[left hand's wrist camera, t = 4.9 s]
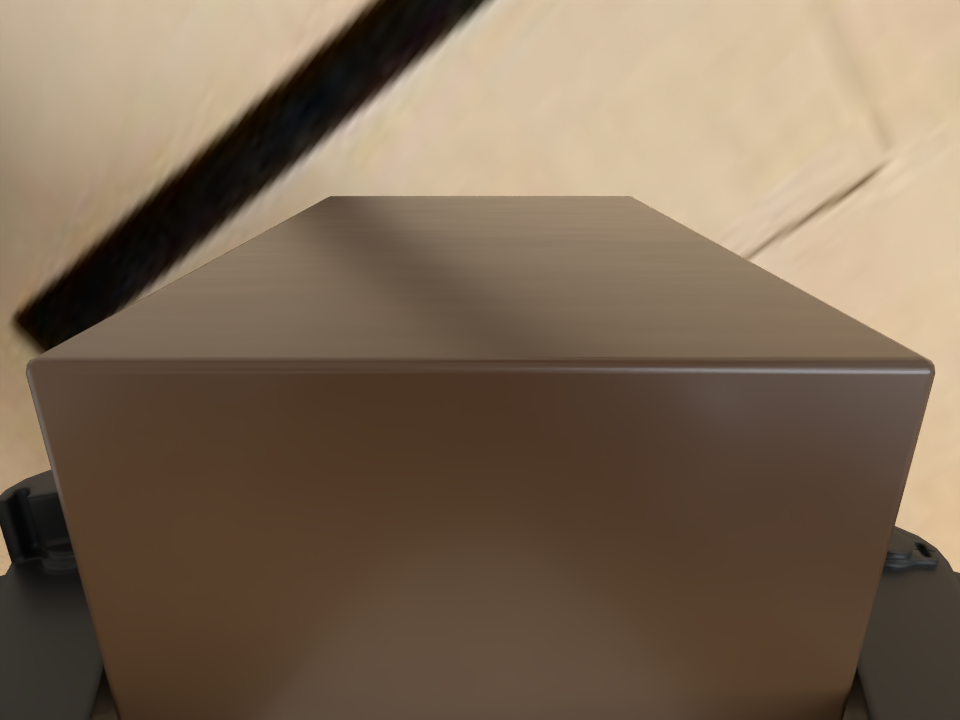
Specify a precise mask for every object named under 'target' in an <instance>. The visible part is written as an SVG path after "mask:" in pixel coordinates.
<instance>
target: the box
mask: <svg viewBox="0 0 960 720" xmlns="http://www.w3.org/2000/svg"><path fill="white" fill-rule="evenodd" d="M26 375H27V379H28V383H29V386H30V390H31V394H32V398H33V402H34V405H35V409H36V413H37V417H38V420H39V424H40V428H41V432H42V435H43V439H44V443H45V447H46V450H47V454H48V458H49V462H50V465H51V469H52V473H53V477H54V481H55V484H56V488H57V492H58V496H59V499H60V503H61V507H62V511H63V514H64V518H65V522H66V526H67V529H68V533H69V537H70V541H71V544H72V548H73V552H74V556H75V559H76V563H77V567H78V571H79V575H80V578H81V582H82V586H83V590H84V593H85V597H86V601H87V605H88V608H89V612H90V616H91V620H92V623H93V627H94V631H95V635H96V638H97V642H98V646H99V650H100V654H101V657H102V661H103V665H104V669H105V672H106V676H107V680H108V684H109V687H110V691H111V695H112V699H113V702H114V706H115V710H116V714H117V717H118V720H843V717H844V713H845V709H846V706H847V702H848V698H849V694H850V691H851V687H852V683H853V679H854V676H855V672H856V668H857V664H858V661H859V657H860V653H861V649H862V646H863V642H864V638H865V634H866V631H867V627H868V623H869V619H870V616H871V612H872V608H873V604H874V601H875V597H876V593H877V589H878V586H879V582H880V578H881V574H882V571H883V567H884V563H885V559H886V556H887V552H888V548H889V544H890V541H891V537H892V533H893V529H894V526H895V522H896V518H897V514H898V511H899V507H900V503H901V499H902V496H903V492H904V488H905V484H906V481H907V477H908V473H909V469H910V466H911V462H912V458H913V454H914V451H915V447H916V443H917V439H918V436H919V432H920V428H921V424H922V421H923V417H924V413H925V409H926V406H927V402H928V398H929V394H930V391H931V387H932V383H933V379H934V376H935V368H934V364H933V363H932V361H931V360H929V359H927V358H925V357H923V356H922V355H920V354H918V353H916V352H914V351H912V350H911V349H909V348H907V347H905V346H903V345H901V344H900V343H898V342H896V341H894V340H892V339H890V338H889V337H887V336H885V335H883V334H881V333H879V332H878V331H876V330H874V329H872V328H870V327H868V326H867V325H865V324H863V323H861V322H859V321H858V320H856V319H854V318H852V317H850V316H848V315H847V314H845V313H843V312H841V311H839V310H837V309H836V308H834V307H832V306H830V305H828V304H826V303H825V302H823V301H821V300H819V299H817V298H815V297H814V296H812V295H810V294H808V293H806V292H805V291H803V290H801V289H799V288H797V287H795V286H794V285H792V284H790V283H788V282H786V281H784V280H783V279H781V278H779V277H777V276H775V275H773V274H772V273H770V272H768V271H766V270H764V269H762V268H761V267H759V266H757V265H755V264H753V263H752V262H750V261H748V260H746V259H744V258H742V257H741V256H739V255H737V254H735V253H733V252H731V251H730V250H728V249H726V248H724V247H722V246H720V245H719V244H717V243H715V242H713V241H711V240H709V239H708V238H706V237H704V236H702V235H700V234H699V233H697V232H695V231H693V230H691V229H689V228H688V227H686V226H684V225H682V224H680V223H678V222H677V221H675V220H673V219H671V218H669V217H667V216H666V215H664V214H662V213H660V212H658V211H656V210H655V209H653V208H651V207H649V206H647V205H646V204H644V203H642V202H640V201H638V200H636V199H635V198H633V197H630V196H330V197H328V198H326V199H324V200H322V201H320V202H319V203H317V204H315V205H313V206H311V207H309V208H308V209H306V210H304V211H302V212H300V213H298V214H297V215H295V216H293V217H291V218H289V219H288V220H286V221H284V222H282V223H280V224H278V225H277V226H275V227H273V228H271V229H269V230H267V231H266V232H264V233H262V234H260V235H258V236H257V237H255V238H253V239H251V240H249V241H247V242H246V243H244V244H242V245H240V246H238V247H236V248H235V249H233V250H231V251H229V252H227V253H226V254H224V255H222V256H220V257H218V258H216V259H215V260H213V261H211V262H209V263H207V264H205V265H204V266H202V267H200V268H198V269H196V270H194V271H193V272H191V273H189V274H187V275H185V276H184V277H182V278H180V279H178V280H176V281H174V282H173V283H171V284H169V285H167V286H165V287H163V288H162V289H160V290H158V291H156V292H154V293H153V294H151V295H149V296H147V297H145V298H143V299H142V300H140V301H138V302H136V303H134V304H132V305H131V306H129V307H127V308H125V309H123V310H122V311H120V312H118V313H116V314H114V315H112V316H111V317H109V318H107V319H105V320H103V321H101V322H100V323H98V324H96V325H94V326H92V327H91V328H89V329H87V330H85V331H83V332H81V333H80V334H78V335H76V336H74V337H72V338H70V339H69V340H67V341H65V342H63V343H61V344H60V345H58V346H56V347H54V348H52V349H50V350H49V351H47V352H45V353H43V354H41V355H39V356H38V357H36V358H34V359H32V360H30V361H29V363H28V364H27V369H26Z"/></svg>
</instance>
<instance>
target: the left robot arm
mask: <svg viewBox="0 0 960 720" xmlns="http://www.w3.org/2000/svg"><path fill="white" fill-rule="evenodd" d="M0 526H1V529H2V533H3V536H4V539H5V542H6V546H7V549H8V552H9V555H10V559H11V562H12V564H11V565H10V567H9V569H8V571H7V573H6V575H3V576H0V720H118V717H117V714H116V710H115V706H114V702H113V699H112V695H111V691H110V687H109V684H108V680H107V676H106V672H105V669H104V665H103V661H102V657H101V654H100V650H99V646H98V642H97V638H96V635H95V631H94V627H93V623H92V620H91V616H90V612H89V608H88V605H87V601H86V597H85V593H84V590H83V586H82V582H81V578H80V575H79V571H78V567H77V563H76V559H75V556H74V552H73V548H72V544H71V541H70V537H69V533H68V529H67V526H66V522H65V518H64V514H63V511H62V507H61V503H60V499H59V496H58V492H57V488H56V484H55V481H54V477H53V473H52V470H49V471H46V472H43V473H40V474H38V475H35V476H32V477H30V478H27V479H25V480H23V481H21V482H19V483H18V484H16V485H14V486H12V487H10V488H9V489H7V490H5V491H4V492H3V493H2V494H1V495H0ZM843 720H960V573H958V572H954V571H953V570H952V568H951V566H950V564H949V562H948V561H947V560H946V559H945V558H944V556H943V555H942V554H941V553H940V552H939V551H938V549H937V548H935V547H934V546H932V545H931V544H929V543H928V542H926V541H925V540H923V539H922V538H920V537H919V536H917V535H915V534H912V533H910V532H908V531H905V530H903V529H901V528H898V527H896V526H894V529H893V533H892V537H891V541H890V544H889V548H888V552H887V556H886V559H885V563H884V567H883V571H882V574H881V578H880V582H879V586H878V589H877V593H876V597H875V601H874V604H873V608H872V612H871V616H870V619H869V623H868V627H867V631H866V634H865V638H864V642H863V646H862V649H861V653H860V657H859V661H858V664H857V668H856V672H855V676H854V679H853V683H852V687H851V691H850V694H849V698H848V702H847V706H846V709H845V713H844V717H843Z"/></svg>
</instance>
